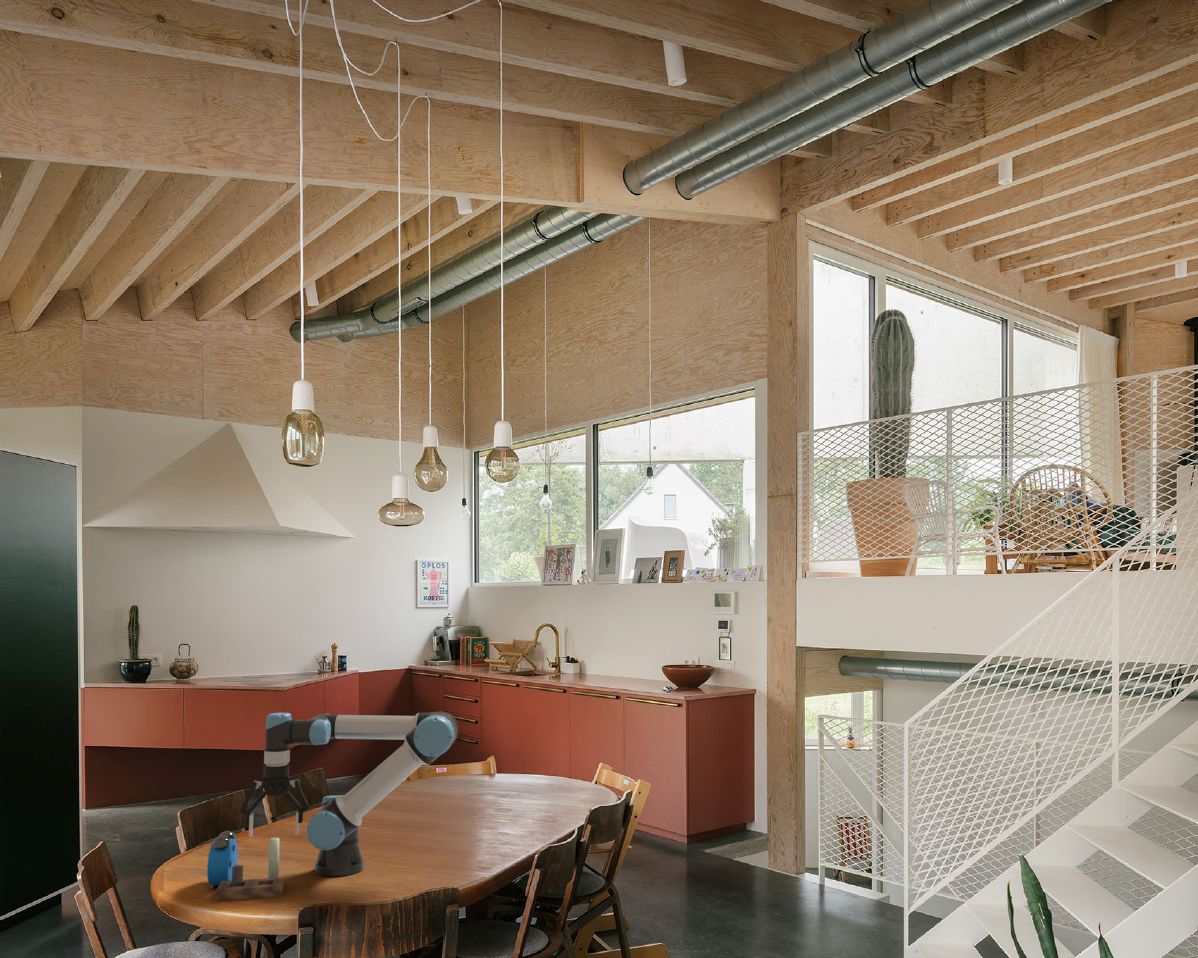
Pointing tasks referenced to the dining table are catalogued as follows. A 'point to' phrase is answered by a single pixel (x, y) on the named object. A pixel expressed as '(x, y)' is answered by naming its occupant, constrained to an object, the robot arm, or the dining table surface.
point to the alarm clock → (222, 858)
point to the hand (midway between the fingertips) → (273, 835)
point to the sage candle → (273, 858)
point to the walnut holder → (249, 887)
